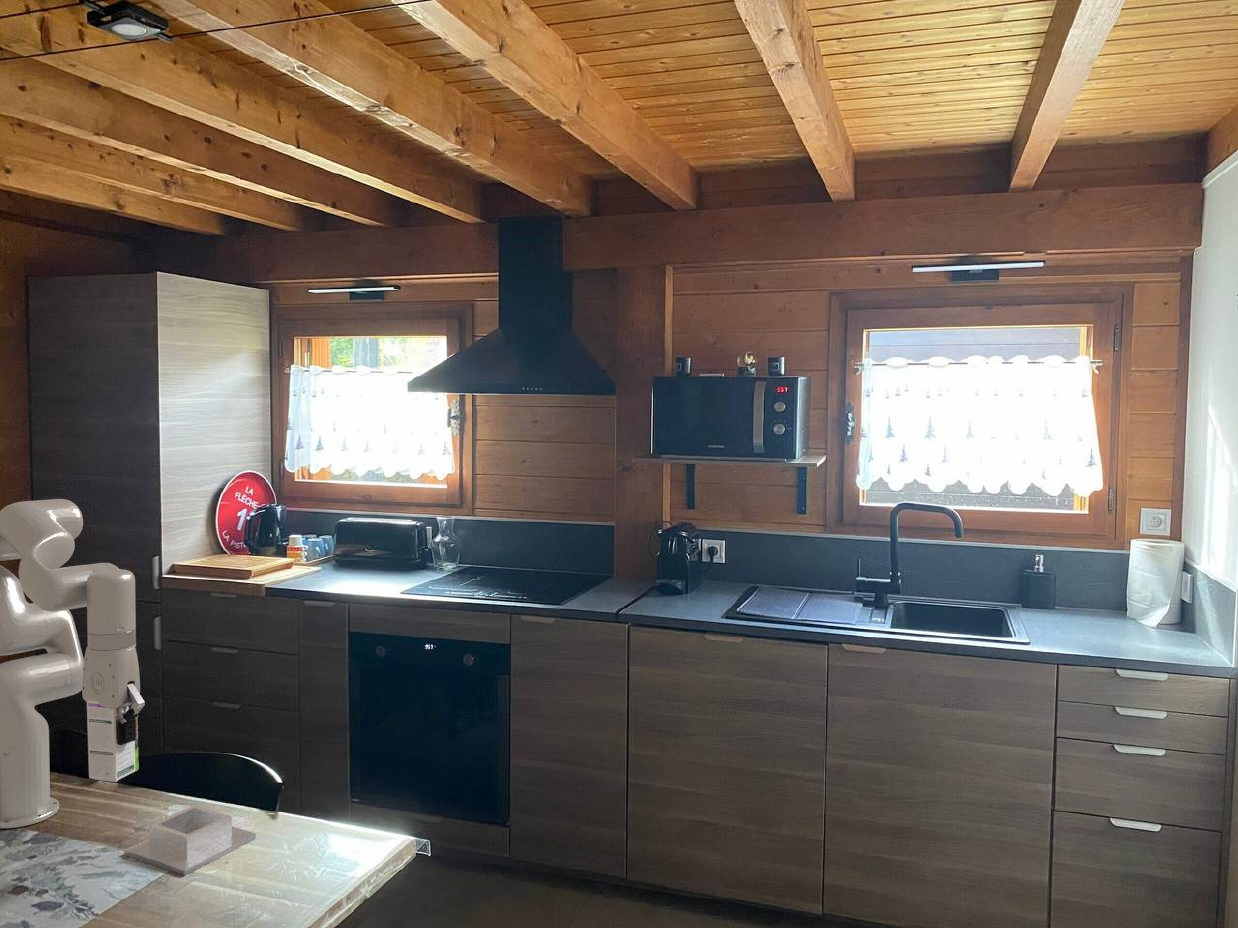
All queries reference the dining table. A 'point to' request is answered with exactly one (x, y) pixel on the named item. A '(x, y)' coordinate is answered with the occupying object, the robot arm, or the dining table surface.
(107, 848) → the dining table surface
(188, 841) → the sleeve holder
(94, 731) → the syrup box
